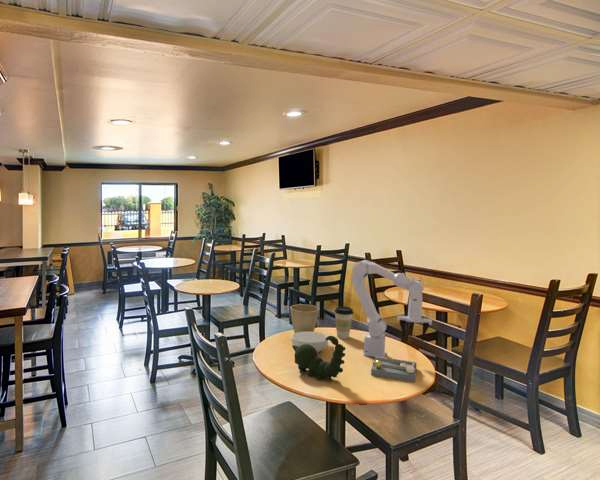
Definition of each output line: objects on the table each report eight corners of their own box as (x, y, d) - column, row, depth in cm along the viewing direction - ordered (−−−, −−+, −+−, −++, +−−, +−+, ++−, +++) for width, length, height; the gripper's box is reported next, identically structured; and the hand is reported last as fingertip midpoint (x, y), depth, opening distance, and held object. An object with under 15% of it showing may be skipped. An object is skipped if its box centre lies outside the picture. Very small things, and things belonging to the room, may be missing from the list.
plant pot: (293, 344, 192) (294, 312, 191) (285, 334, 207) (286, 304, 205) (322, 342, 197) (323, 310, 196) (312, 332, 211) (313, 303, 210)
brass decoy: (373, 368, 159) (374, 361, 159) (374, 365, 162) (375, 358, 162) (381, 370, 158) (382, 362, 158) (382, 367, 161) (383, 359, 161)
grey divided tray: (370, 375, 159) (371, 365, 159) (375, 362, 172) (376, 353, 172) (414, 382, 154) (415, 372, 153) (416, 368, 167) (416, 359, 167)
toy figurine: (345, 384, 154) (297, 361, 170) (351, 338, 151) (302, 319, 167) (331, 392, 147) (282, 367, 163) (337, 343, 144) (287, 323, 160)
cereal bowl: (329, 346, 191) (329, 332, 190) (325, 359, 174) (326, 343, 174) (294, 343, 194) (295, 329, 193) (287, 355, 177) (288, 340, 177)
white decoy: (405, 373, 155) (406, 365, 155) (406, 370, 158) (406, 363, 158) (414, 375, 154) (414, 367, 154) (414, 372, 157) (414, 364, 157)
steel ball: (411, 371, 161) (402, 375, 161) (408, 368, 165) (400, 372, 165) (407, 363, 161) (398, 367, 161) (404, 359, 165) (396, 363, 165)
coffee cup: (332, 338, 202) (333, 310, 201) (334, 333, 212) (335, 305, 211) (352, 340, 201) (353, 311, 200) (352, 334, 210) (353, 307, 209)
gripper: (397, 308, 172) (395, 339, 173) (432, 312, 167) (430, 343, 168) (398, 305, 178) (397, 334, 180) (432, 308, 174) (430, 338, 175)
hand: (413, 338), depth 174 cm, fingers open, 7 cm apart
